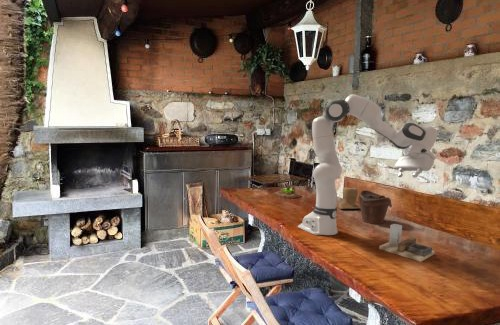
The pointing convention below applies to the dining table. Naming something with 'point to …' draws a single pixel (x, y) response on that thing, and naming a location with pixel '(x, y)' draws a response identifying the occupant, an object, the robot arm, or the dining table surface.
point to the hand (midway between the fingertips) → (406, 176)
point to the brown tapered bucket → (373, 207)
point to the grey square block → (395, 234)
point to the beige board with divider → (409, 249)
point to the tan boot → (349, 199)
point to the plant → (287, 193)
